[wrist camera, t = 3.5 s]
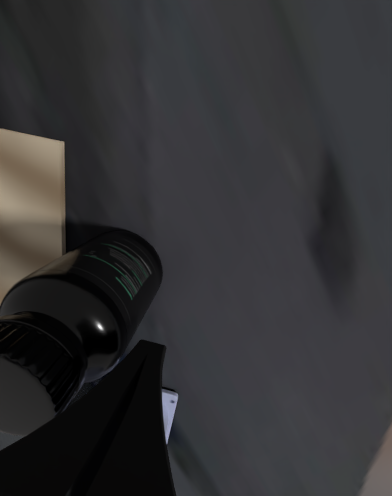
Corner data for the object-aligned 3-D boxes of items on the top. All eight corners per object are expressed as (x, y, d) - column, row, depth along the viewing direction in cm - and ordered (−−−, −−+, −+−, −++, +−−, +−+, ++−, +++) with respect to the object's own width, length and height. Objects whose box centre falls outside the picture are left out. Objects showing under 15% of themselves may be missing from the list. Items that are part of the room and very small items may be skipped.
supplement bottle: (125, 312, 22) (18, 470, 11) (73, 257, 20) (-112, 372, 9) (180, 275, 20) (118, 423, 9) (126, 211, 18) (-31, 288, 7)
